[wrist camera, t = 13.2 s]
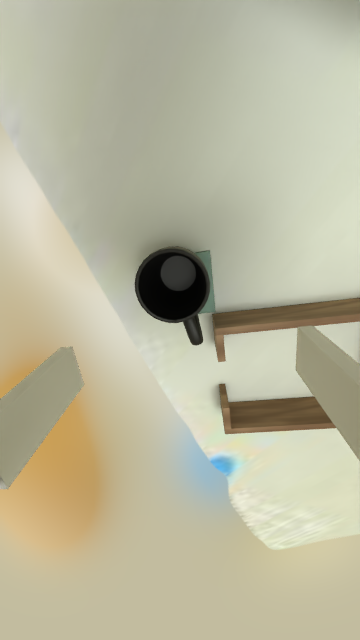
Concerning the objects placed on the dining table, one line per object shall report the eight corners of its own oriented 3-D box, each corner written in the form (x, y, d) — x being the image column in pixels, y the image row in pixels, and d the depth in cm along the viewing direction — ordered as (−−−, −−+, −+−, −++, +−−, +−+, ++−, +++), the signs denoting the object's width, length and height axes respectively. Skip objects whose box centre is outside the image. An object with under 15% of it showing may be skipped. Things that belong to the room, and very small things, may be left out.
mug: (171, 329, 38) (163, 359, 29) (141, 256, 34) (121, 264, 25) (221, 313, 36) (230, 339, 27) (195, 234, 32) (195, 235, 24)
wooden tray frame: (212, 314, 37) (215, 328, 31) (378, 295, 34) (414, 308, 29) (221, 407, 43) (225, 434, 37) (363, 398, 40) (390, 425, 35)
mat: (147, 259, 35) (146, 259, 34) (209, 250, 34) (209, 250, 33) (158, 317, 38) (157, 318, 37) (215, 310, 37) (215, 311, 36)
